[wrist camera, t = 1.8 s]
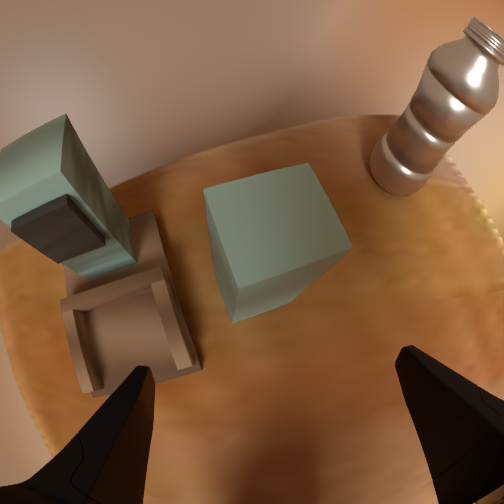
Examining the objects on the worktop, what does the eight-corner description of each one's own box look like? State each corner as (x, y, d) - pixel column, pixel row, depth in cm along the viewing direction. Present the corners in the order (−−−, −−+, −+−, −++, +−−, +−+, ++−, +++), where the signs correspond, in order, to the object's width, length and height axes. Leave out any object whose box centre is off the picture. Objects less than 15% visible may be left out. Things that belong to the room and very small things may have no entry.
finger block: (288, 303, 21) (353, 247, 10) (232, 323, 20) (238, 288, 9) (266, 249, 23) (302, 151, 11) (212, 267, 22) (199, 176, 11)
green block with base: (202, 369, 19) (162, 396, 7) (98, 396, 17) (-19, 420, 5) (155, 215, 23) (106, 96, 11) (66, 248, 21) (-24, 166, 9)
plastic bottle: (351, 169, 26) (446, -1, 8) (382, 145, 28) (464, 7, 10) (396, 215, 25) (530, 69, 6) (422, 184, 27) (526, 61, 8)
